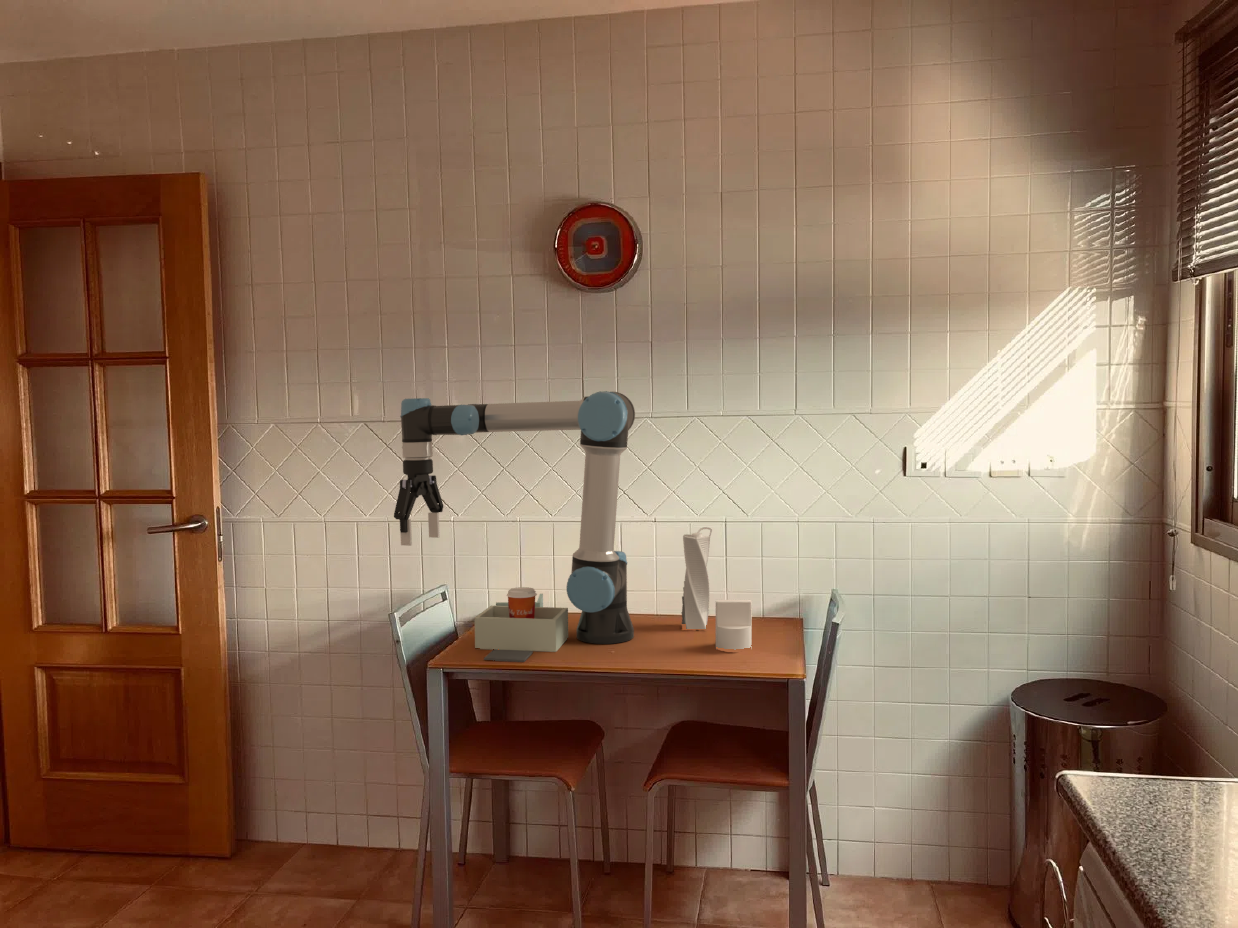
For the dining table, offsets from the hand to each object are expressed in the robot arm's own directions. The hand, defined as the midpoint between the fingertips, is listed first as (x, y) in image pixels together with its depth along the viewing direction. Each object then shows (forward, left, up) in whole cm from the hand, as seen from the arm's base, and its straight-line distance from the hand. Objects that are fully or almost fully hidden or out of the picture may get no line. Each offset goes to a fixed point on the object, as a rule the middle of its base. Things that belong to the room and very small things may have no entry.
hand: (420, 541), depth 248 cm
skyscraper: (-69, -26, -27) cm, 78 cm away
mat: (-26, +9, -27) cm, 38 cm away
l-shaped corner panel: (-20, -23, -27) cm, 41 cm away
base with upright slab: (-80, -7, -27) cm, 84 cm away
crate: (-26, -4, -27) cm, 37 cm away
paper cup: (-26, -4, -27) cm, 37 cm away
